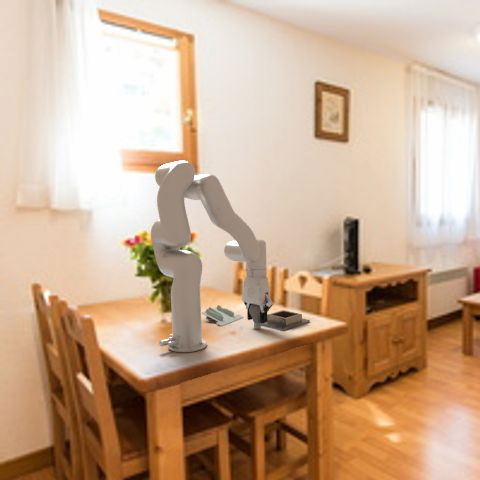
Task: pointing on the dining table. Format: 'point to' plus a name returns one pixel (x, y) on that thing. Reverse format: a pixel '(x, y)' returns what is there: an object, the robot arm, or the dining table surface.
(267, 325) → the grey square socket base
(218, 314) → the metal bracket
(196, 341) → the robot arm
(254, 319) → the light bulb
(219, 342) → the dining table surface
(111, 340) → the dining table surface
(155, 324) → the dining table surface
